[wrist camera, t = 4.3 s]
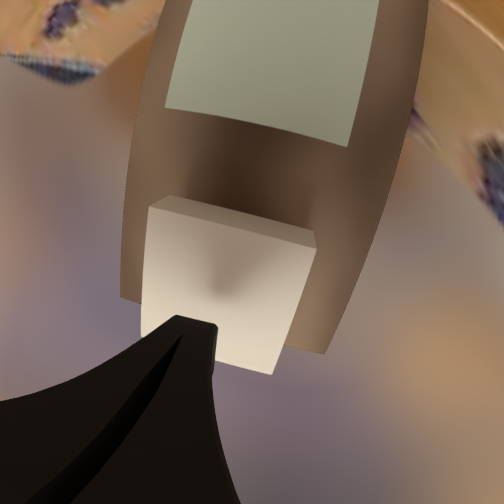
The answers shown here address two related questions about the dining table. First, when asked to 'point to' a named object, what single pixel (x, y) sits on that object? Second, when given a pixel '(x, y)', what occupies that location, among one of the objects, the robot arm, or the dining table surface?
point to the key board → (279, 165)
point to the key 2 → (225, 276)
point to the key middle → (276, 63)
